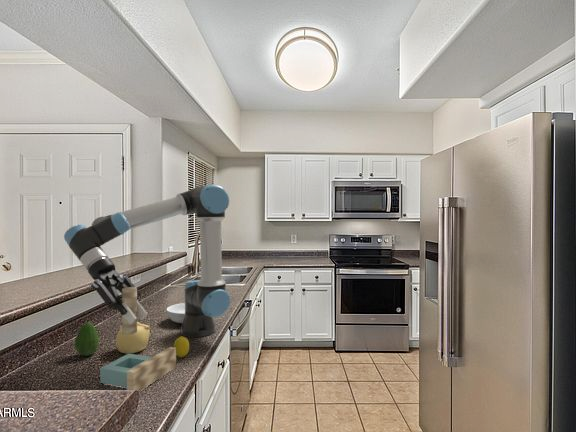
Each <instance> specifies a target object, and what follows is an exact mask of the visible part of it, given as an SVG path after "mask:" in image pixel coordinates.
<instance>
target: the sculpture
mask: <svg viewBox="0 0 576 432" xmlns="http://www.w3.org/2000/svg"><path fill="white" fill-rule="evenodd" d="M150 329H151V327H150V325H148V324H144V323H141V322H139V321H137V332H136V333H133V334H122V325H120V326H119V331H118V332H117V335H116V338H115V345H116V349H117V350H118V352H120V353H122V354H125V355H127V354H135V353H139V352H141V351H143V350H144V349H146V347H147V345H148V343H149V340H150V335H151V334H150V333H151V331H150Z"/></svg>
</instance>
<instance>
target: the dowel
mask: <svg viewBox="0 0 576 432" xmlns="http://www.w3.org/2000/svg"><path fill="white" fill-rule="evenodd" d="M137 290H138V287H137V286H135V287H127V288H123V289H122V293H121V301H122V303H124V302H125V303H126V304H127V306H128V307H129V308H130V310H131V311H132V312H133V314H134V315H135V316H136V320H135V321H134V322H133V323H132V324H129V322H128V321H127V320H126V318H125V317H124V316H123V315H122V314H121V326H122V334H133V333H136V332H137V322H138V314H137Z"/></svg>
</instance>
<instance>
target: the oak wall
mask: <svg viewBox="0 0 576 432" xmlns="http://www.w3.org/2000/svg"><path fill="white" fill-rule="evenodd" d="M151 357H152V358H150V359H148V360H146V361H145V362H143V363H141V364H139V365H138V366H136V367H134V368H132V369H131V370H129V371H127V389H126V391H127V390H138V391H139V390H140V391H141V390H142V389H144V388H145V387H147V386H148V385H150V384H152V383H153V382H155V381H156V380H158V379H159V378H161V377H162V376H163V375H165V374H166V373H168V372H169V371H171V370H172V369H174V368H175V367H176V368H177V355H176V348H174V346H169V347H167V348H166V349H163V350H162V351H161V352H159V353H157V354H155V355H154V356H151ZM174 370H175V369H174ZM171 372H172V371H171ZM168 374H169V373H168ZM165 376H166V375H165ZM162 378H163V377H162ZM162 378H161V379H162ZM159 380H160V379H159ZM159 380H158V381H159ZM156 382H157V381H156ZM156 382H155V383H156ZM153 384H154V383H153ZM153 384H152V385H153ZM140 391H139V392H140ZM140 393H141V392H140Z"/></svg>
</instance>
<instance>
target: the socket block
mask: <svg viewBox="0 0 576 432" xmlns="http://www.w3.org/2000/svg"><path fill="white" fill-rule="evenodd" d="M152 357H153V356H147V355H141V354H140V355H139V354H135V353H131V354H125V355H123V356H121V357H119V358H118V359H116V360H113V361H111V362H109V363H108V364H105V365H104V366H101V367H100V368H99V369H100V372H99V374H100V375H99V377H100V379H99V380H100V381H99V382H100V383H105V384H112V385H117V386H121V387H125V388H127V371H129V370H131V369H132V368H134V367H136V366H138V365H139V364H141V363H143V362H145V361H146V360H148V359H150V358H152ZM100 383H99V384H100Z"/></svg>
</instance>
